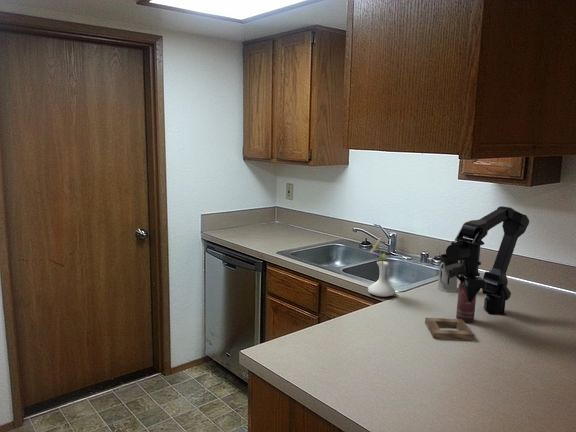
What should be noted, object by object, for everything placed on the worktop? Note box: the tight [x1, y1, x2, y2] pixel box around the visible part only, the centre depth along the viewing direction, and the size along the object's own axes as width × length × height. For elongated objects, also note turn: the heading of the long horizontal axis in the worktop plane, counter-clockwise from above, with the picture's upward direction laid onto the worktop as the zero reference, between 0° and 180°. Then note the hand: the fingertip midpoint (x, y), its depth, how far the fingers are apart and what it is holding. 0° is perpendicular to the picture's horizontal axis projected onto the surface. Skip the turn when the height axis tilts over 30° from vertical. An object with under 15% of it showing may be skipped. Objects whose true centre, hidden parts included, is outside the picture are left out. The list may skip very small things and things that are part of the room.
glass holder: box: [436, 253, 459, 293], centre depth 201 cm, size 9×14×15 cm, turn 140°
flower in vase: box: [367, 237, 396, 298], centre depth 193 cm, size 13×11×25 cm
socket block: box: [424, 317, 475, 341], centre depth 159 cm, size 13×13×2 cm
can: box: [455, 281, 478, 324], centre depth 168 cm, size 6×6×14 cm
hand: (467, 299), depth 168 cm, fingers closed on can, 5 cm apart
